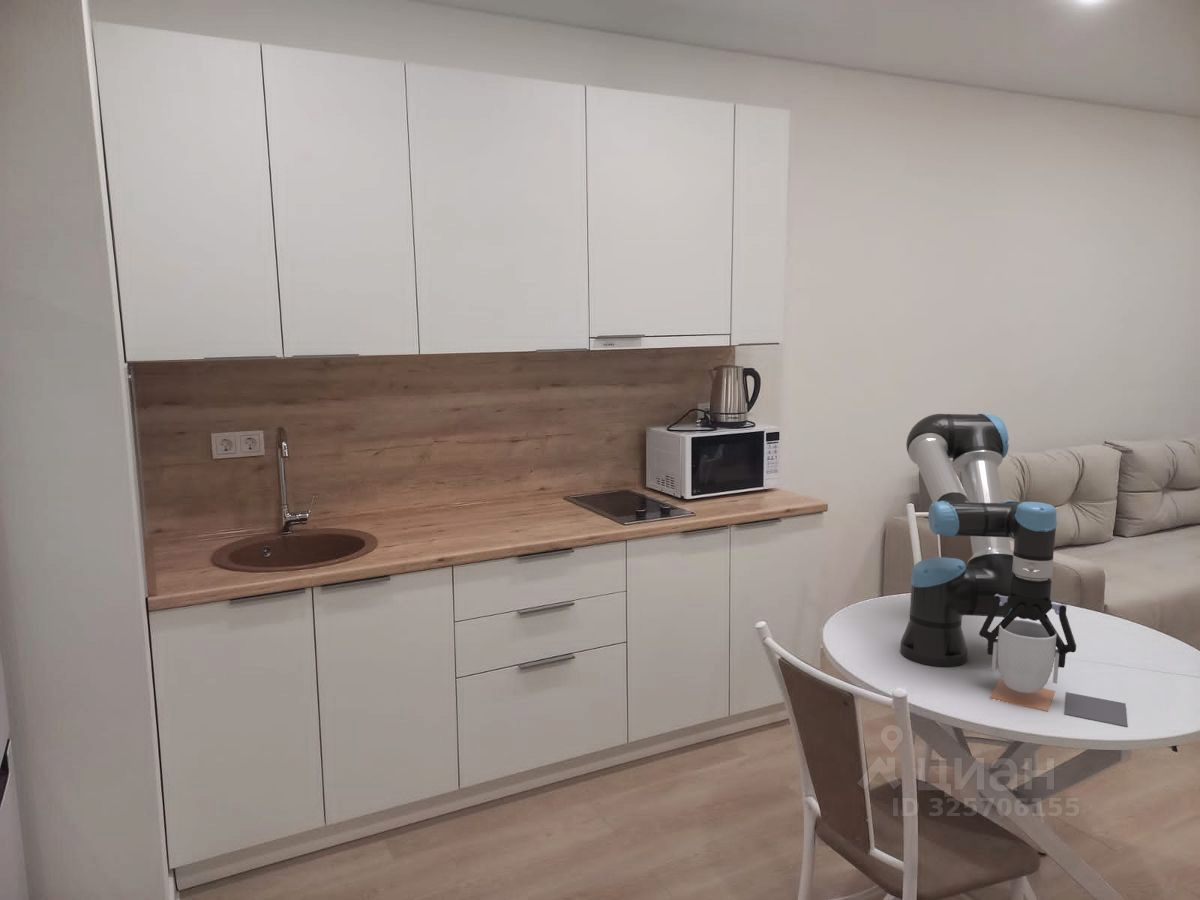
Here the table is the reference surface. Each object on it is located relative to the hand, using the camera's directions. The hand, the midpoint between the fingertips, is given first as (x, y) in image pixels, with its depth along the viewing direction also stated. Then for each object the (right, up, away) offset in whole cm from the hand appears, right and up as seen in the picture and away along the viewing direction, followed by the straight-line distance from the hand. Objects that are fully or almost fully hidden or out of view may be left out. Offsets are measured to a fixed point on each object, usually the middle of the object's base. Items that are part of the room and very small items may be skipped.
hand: (1024, 674), depth 180 cm
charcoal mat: (+12, -6, -6) cm, 14 cm away
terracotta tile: (0, -5, +1) cm, 5 cm away
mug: (-1, -3, +1) cm, 3 cm away
